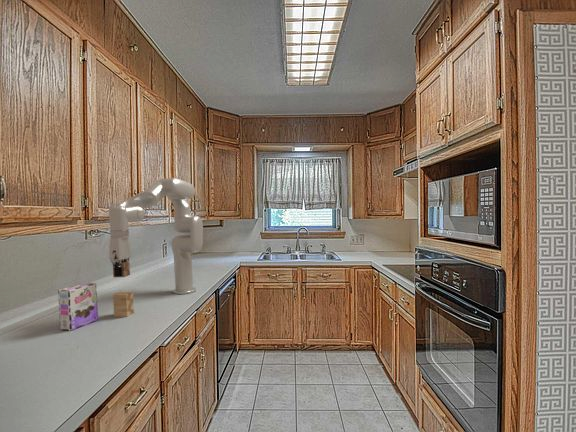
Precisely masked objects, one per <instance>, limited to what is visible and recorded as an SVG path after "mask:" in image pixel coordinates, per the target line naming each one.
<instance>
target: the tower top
mask: <svg viewBox="0 0 576 432" xmlns="http://www.w3.org/2000/svg"><path fill="white" fill-rule="evenodd" d="M112 302H113V307H114V306H127V305H129V304H131V303H133V304H134V291H133V290H131V291H130V290H128V291H126V290H125V291H121V290H120V291H117V292H116V293H114V294H113V295H112Z"/></svg>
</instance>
